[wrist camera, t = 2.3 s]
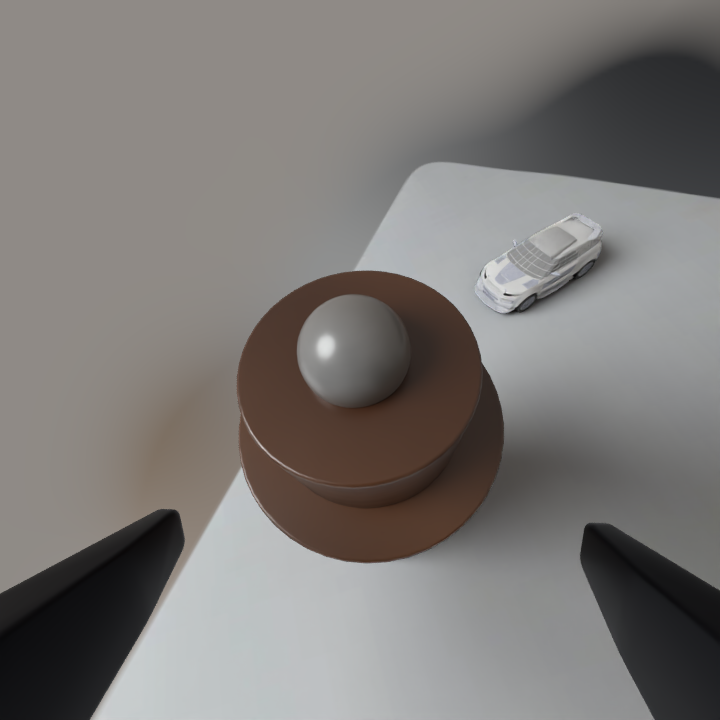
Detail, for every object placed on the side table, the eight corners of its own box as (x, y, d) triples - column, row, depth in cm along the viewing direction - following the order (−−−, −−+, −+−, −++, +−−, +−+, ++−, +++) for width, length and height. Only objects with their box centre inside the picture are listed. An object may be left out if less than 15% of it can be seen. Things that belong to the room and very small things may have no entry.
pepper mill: (420, 581, 14) (539, 712, 2) (312, 528, 16) (34, 434, 4) (453, 465, 17) (602, 219, 4) (356, 428, 18) (273, 166, 6)
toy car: (462, 288, 22) (471, 252, 19) (554, 237, 24) (573, 198, 21) (502, 325, 20) (517, 292, 18) (598, 268, 22) (625, 229, 19)
